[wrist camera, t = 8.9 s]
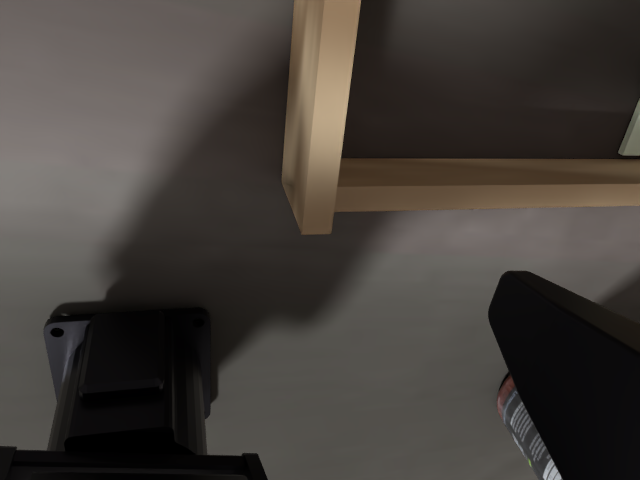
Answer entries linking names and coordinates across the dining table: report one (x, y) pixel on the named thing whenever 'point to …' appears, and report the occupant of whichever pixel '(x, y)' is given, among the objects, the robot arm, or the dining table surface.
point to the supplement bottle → (525, 432)
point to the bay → (406, 173)
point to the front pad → (632, 136)
